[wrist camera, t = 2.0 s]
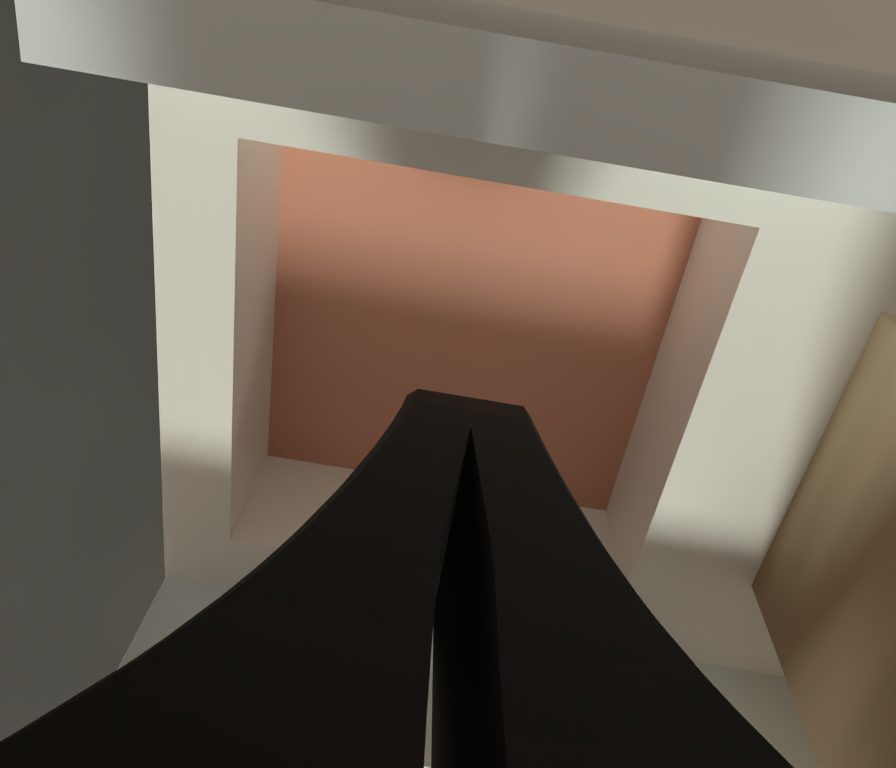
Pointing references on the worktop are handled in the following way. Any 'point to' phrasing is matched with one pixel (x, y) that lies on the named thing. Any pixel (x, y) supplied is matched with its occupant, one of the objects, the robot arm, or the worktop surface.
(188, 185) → the white tray
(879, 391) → the block
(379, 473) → the robot arm
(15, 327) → the worktop surface
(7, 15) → the worktop surface
